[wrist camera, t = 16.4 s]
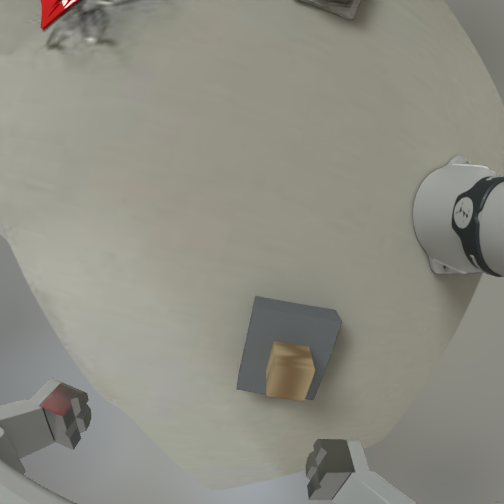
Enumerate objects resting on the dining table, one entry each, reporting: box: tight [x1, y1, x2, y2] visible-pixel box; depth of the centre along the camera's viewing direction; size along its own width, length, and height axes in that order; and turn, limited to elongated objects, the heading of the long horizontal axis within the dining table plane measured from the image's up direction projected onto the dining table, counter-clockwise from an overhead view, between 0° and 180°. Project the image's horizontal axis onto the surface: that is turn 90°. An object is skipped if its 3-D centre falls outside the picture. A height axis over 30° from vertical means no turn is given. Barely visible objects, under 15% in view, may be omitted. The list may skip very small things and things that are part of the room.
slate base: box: [237, 296, 342, 400], centre depth 43 cm, size 12×14×4 cm
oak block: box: [266, 341, 315, 401], centre depth 38 cm, size 5×5×6 cm
